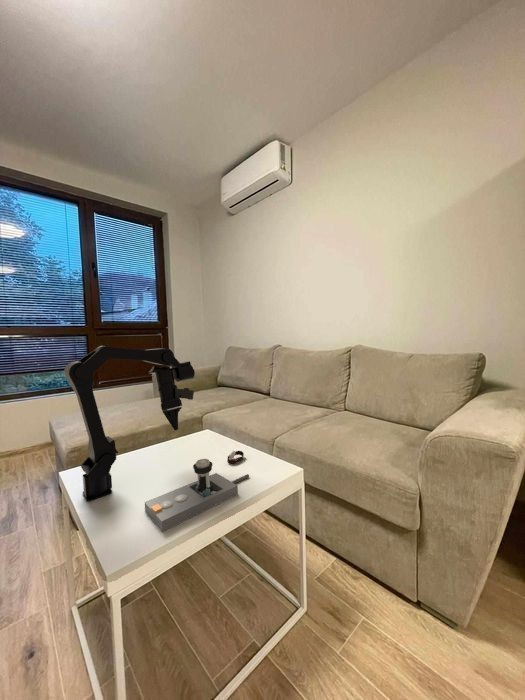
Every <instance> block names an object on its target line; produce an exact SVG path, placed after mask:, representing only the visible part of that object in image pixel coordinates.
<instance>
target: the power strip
mask: <svg viewBox="0 0 525 700" xmlns="http://www.w3.org/2000/svg"><path fill="white" fill-rule="evenodd" d="M209 478H210V486H213V492H215V493H214V494H211V495H209V496H207V497H205V498H203V497H202V496H200V495H199V494H198V493H196V487H197V486H198V485H197V484H198V480H195V481H193V482H191V483H188V484H186V485H183V486H181V487H179V488H176V489H174V490H171V491H168V492H166V493H164V494H161V495H159V496H156V497H154V498H152V499H149V500H147V501H144V512H145V513H146V514H147V516H148V517H149V518H150V519H151V520H152V522H153V523H154V524H155V526H157V527H158V529H159V530H160V531H161V532H162V533H163V532H165V531H167V530H168V529H170V528H173V527H175V526H177V525H178V524H180V523H183V522H185V521H187V520H188V519H191V518H193V517H195V516H197V515H199V514H201V513H203V512H205V511H207V510H209V509H210V508H213V507H215V506H217V505H219V504H222V503H224V502H225V501H227V500H230V499H231V498H233V497H235V496H237V495H239V488H238V486H239V485H238V484H237V483H239V482H242V481H244V480H246V479H248V478H250V474H248V473H247V474H245V475H242V476H240V477H239V478H236V479H234V480H229V479H227V478H226V477H224V476H222V475H221V474H219V473H217V472H214V473H213V474H211V475H210V474H209Z"/></svg>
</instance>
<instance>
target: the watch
mask: <svg viewBox="0 0 525 700" xmlns="http://www.w3.org/2000/svg"><path fill="white" fill-rule="evenodd" d="M244 455H245V454H244V451H242V450H236V451H235V450H232V451H230V453H229V454H228V456H227V460H226V461H227V463H228V464H229V465H235V464H238V463H240V462H242V461H243V460H244ZM235 456H241V457H238V458H237V459H234V458H235Z"/></svg>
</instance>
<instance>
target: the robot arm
mask: <svg viewBox="0 0 525 700" xmlns="http://www.w3.org/2000/svg"><path fill="white" fill-rule="evenodd" d="M109 359H110V360H111V359H112V360H125V361H126V360H127V361H142V362H146V363H149V364H154V365H152V366H151V369H150V370H149V371H148V374H149V375H151V374H152V375H153V374H155V381H156V385H157V389H158V394H159V398H160V408H161V412H162V413H163V415H164V417H165V418H166V419H167V421H168V422H169V424H170V425H171V427H172V429H173V430H174V431H178V430H179V412H180V411H181V409H182V408H183V407H182V406H183V403H182V399H185V400H186V399H187V400H190V401H191V400H193V399H194V395H195V390H191V389H189V387H183V388H178V385H177V384H176V382H177V383H179V382H185V381H190V380H193V379H194V378H195V370H194V366H192V364H191V361H188V360H186V361H184V362H180V361H178V359H177V358H176V357H175V354H174V352H173V350H172V349H171V348H150V349H139V348H128V347H127V348H126V347H125V348H124V347H114V346H108V345H100V346H97V347H96V348H95V349H94V350H92V351H91V352H89V353H88V354H85V356H83V357H82V358H80V359H79V360H78V361H72V362H69V363H68V364H67V365H66V366H65V368H64V370H63V372H64V376H65V378H66V380H67V382H68V384H69V386H70V387H71V388H72V390H73V392H74V393H75V395H76V398H77V401H78V405H79V409H80V412H81V415H82V419H83V422H84V426H85V430H86V432H87V435H88V444H87V445H88V446H87V448H88V449H87V451H88V456H87V457H86V459H85V460H84V461H83V462H82V463H81V465H80V468H81V469H82V471H83V472H84V474H82V481H83V482H82V484H83V486H82V487H83V491H82V495H83V497H84V499H85V501H86V502H91V501H94V500H96V499H99V498H101V497H104V496H107V495H110V494H112V492H113V491H112V488H113V483H112V481H113V480H112V474H111V473H110V471H111V468H112V466H113V465H114V464H115V461H116V460H117V454H118V453H119V451H118V450H117V449H116V442H115V441H116V440H115V439H114V438H112V437H110V436H109V435H106V434H105V430H104V426H103V423H102V419H101V416H100V412H99V407H98V405H97V401H96V398H95V394H94V381H95V380H94V372H95V371H97V370H98V369H99V368H100V367H101V366H102V365H103V364H104V363H105V362H106V361H107V360H109ZM157 365H159V366H157Z"/></svg>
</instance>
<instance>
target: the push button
mask: <svg viewBox="0 0 525 700" xmlns="http://www.w3.org/2000/svg"><path fill="white" fill-rule="evenodd" d="M192 468H193V470H194V473H195V474H197V481H198V484H197V485H198V486H197V487H196V493H198V494H199V495H200V496H202V497H203V498H205V497H207V496H209V495H211V494H214V493H216V492H215V491H213V486H210V478H209V476H210V473H211V471H212V470H213V462H212V461H210V460H209V459H208V458H201V459H198V460H197V461H196V462H195V463H194V464H193V465H192Z"/></svg>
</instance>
